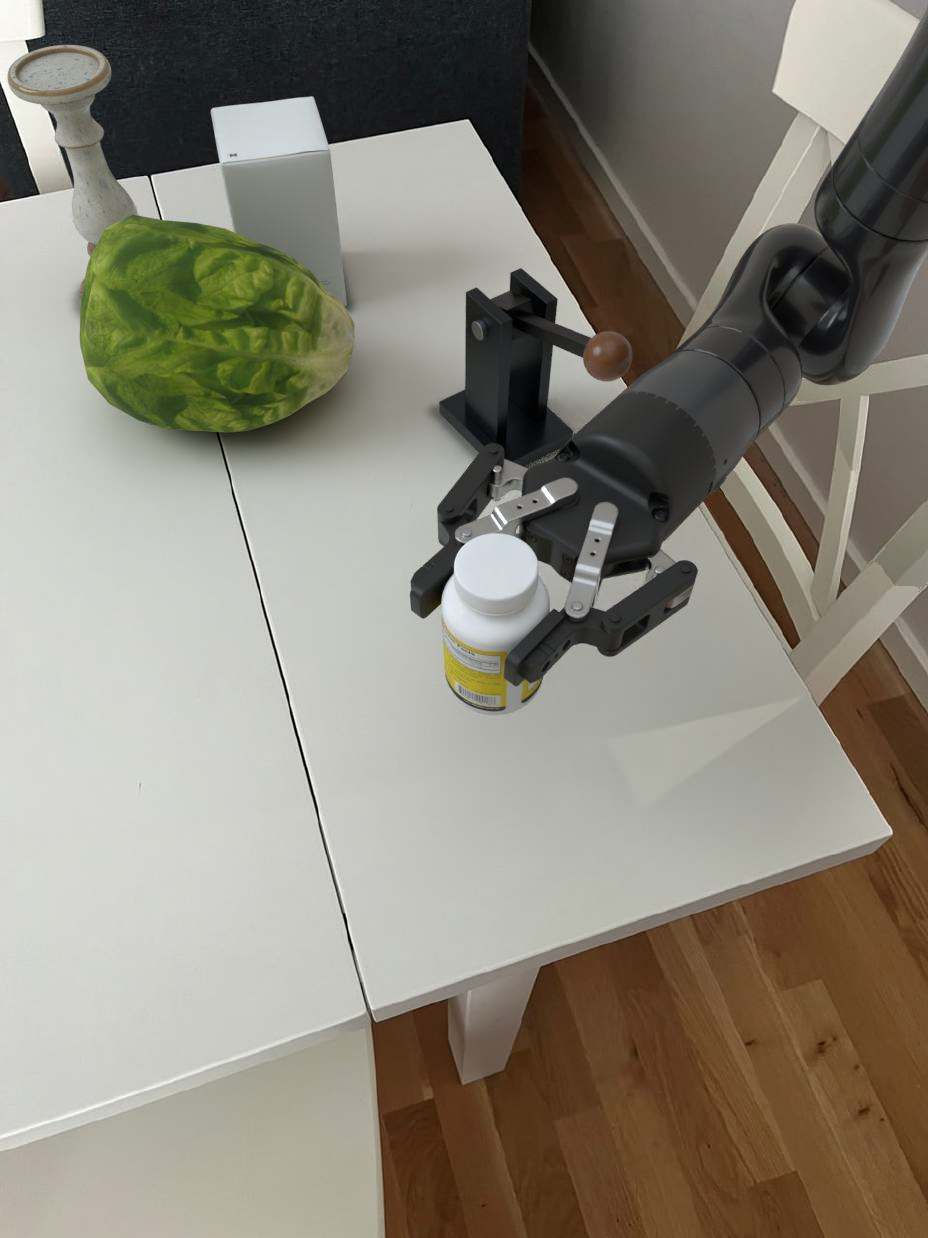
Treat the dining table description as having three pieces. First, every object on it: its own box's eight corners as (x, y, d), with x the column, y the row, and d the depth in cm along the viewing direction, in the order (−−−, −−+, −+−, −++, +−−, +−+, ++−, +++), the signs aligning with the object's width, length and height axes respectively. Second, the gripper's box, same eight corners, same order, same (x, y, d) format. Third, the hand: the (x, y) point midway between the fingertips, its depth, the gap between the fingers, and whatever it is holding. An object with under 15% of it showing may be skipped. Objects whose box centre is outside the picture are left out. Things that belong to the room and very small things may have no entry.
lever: (644, 376, 65) (641, 330, 63) (606, 395, 64) (602, 349, 62) (519, 323, 75) (513, 282, 73) (485, 339, 74) (478, 298, 72)
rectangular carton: (350, 308, 90) (332, 149, 78) (251, 323, 89) (217, 164, 76) (334, 250, 95) (315, 92, 83) (241, 263, 94) (208, 104, 81)
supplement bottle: (522, 623, 56) (531, 509, 48) (557, 702, 53) (573, 594, 45) (431, 649, 55) (425, 537, 47) (462, 730, 52) (461, 626, 44)
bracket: (572, 441, 80) (589, 310, 70) (502, 477, 78) (509, 347, 67) (506, 379, 84) (513, 247, 74) (439, 412, 82) (435, 280, 72)
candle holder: (199, 288, 91) (141, 60, 75) (128, 338, 87) (50, 108, 71) (133, 254, 94) (63, 28, 78) (61, 301, 90) (-28, 72, 74)
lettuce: (334, 496, 80) (380, 332, 70) (58, 450, 74) (66, 263, 64) (327, 386, 91) (367, 230, 81) (88, 338, 85) (98, 163, 75)
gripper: (563, 338, 55) (347, 514, 47) (792, 461, 49) (588, 682, 42) (554, 436, 61) (361, 606, 53) (756, 555, 55) (573, 762, 48)
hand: (462, 638), depth 48 cm, fingers closed on supplement bottle, 5 cm apart
